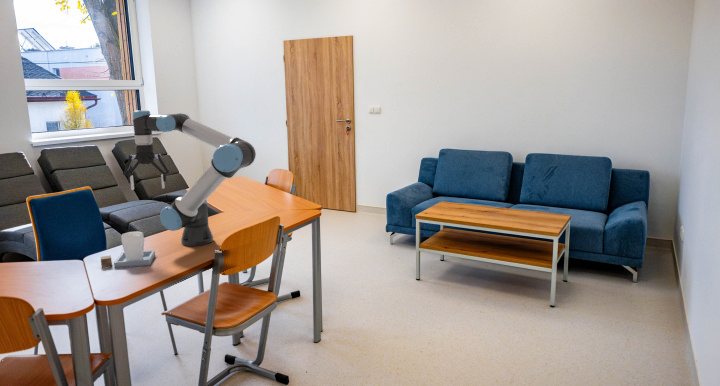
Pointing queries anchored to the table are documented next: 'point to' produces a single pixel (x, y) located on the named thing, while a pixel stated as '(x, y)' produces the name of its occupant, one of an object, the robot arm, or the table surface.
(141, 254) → the cup
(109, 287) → the table surface
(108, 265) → the walnut block
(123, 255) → the tray
